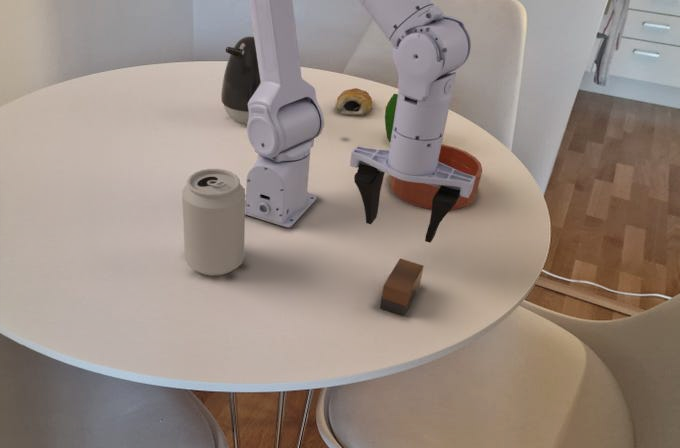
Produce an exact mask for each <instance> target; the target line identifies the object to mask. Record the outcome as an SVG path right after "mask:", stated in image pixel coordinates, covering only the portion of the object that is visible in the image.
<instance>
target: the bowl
mask: <svg viewBox="0 0 680 448" xmlns="http://www.w3.org/2000/svg"><path fill="white" fill-rule="evenodd" d="M438 162H440V163H443V164H445V165H447V166H449V167H451V168H454V169H456V170H458V171H460V172H463V173H465V174H468V175H472V176H475V177H476V178H475V182H474V186H473V190H472V192H471V194H470V196H469V198H466V197H462V196H460V197H459V198H458V200H457V202H456V204H455V205H454V206H453V208H452V209H451V210H453V211H454V210H458V209H462V208H465V207H467V206H469V205H471V204H472V203H473V202H474V201H475V200H476V197H477V194H478V190H479V187H480V182H481V178H482V174H483V166H482V163H481V162H480V160H479V159H478V158H477V157H475V156H474V155H473V154H471V153H469V152H467V151H466V150H463V149H461V148H458V147H455V146H452V145H448V144H443V143H442V144H441V149H440V154H439V159H438ZM389 186H390V190H391V191H392V192H393V193H394V195H396V196H397V197H399V198H400V199H402V200H403V201H404V202H407V203H409V204H411V205H414V206H416V207H420V208H424V209H428V210H432V200H433V197H434V196H435V194H436V193H437V191H438V190H439V188H440V187H436V186H432V185H429V184H425V183H416V182H408V181H404V180H400V179H397V178H395V177H393V176H391V175H389ZM451 210H450V211H451Z"/></svg>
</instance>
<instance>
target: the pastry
mask: <svg viewBox="0 0 680 448" xmlns="http://www.w3.org/2000/svg"><path fill="white" fill-rule="evenodd" d="M372 109H373V98H372V96H371V95H370V94H369V92H367V90H363V89H360V88H358V87H354V88H351V89H346V90H343V91H342V92H341V93H340V95H339V96H338V97H337V99H336V104H335V110H336V112H337V113H338V114H339V115H345V116H359V117H361V116H366V115H368V114H370V113H371V112H372V111H371V110H372Z"/></svg>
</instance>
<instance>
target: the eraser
mask: <svg viewBox="0 0 680 448" xmlns="http://www.w3.org/2000/svg"><path fill="white" fill-rule="evenodd" d="M424 267H425V266H424V265H422V264H420V263H416V262H413V261H410V260H407V259H404V258H400V257H399V259H398V261H397V263H396V264H395V265H394V267H393V269H392V271H391V272H390V274H389V276H388V277H387V279H386V280H385V282H384V283H383V286H382V293H381V299H380V306H379V309H381V310H385V311H387V312H389V313H393V314H396V315H399V316H402V317H405V316H406V314H407V312H408V310H409V308H410V307H411V305H412V303H413V301H414V300H415V297H416V295H417V293H418V292H419V290H420V286H421V281H422V277H423V272H424Z"/></svg>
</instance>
